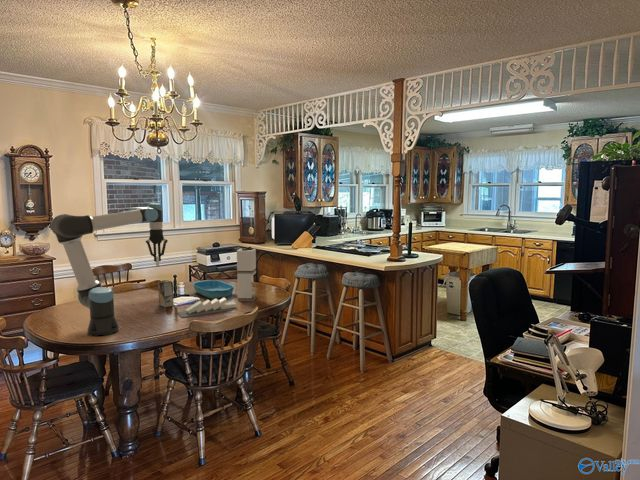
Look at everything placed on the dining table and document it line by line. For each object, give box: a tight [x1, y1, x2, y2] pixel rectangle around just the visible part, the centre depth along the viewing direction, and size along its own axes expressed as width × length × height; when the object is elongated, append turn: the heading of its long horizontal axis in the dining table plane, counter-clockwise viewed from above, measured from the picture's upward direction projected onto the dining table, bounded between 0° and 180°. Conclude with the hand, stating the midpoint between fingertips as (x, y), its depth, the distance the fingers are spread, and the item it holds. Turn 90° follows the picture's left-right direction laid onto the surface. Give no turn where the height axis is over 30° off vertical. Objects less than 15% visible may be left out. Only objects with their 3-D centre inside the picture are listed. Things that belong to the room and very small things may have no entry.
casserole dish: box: [192, 279, 235, 300], centre depth 311 cm, size 37×22×7 cm, turn 41°
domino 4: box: [212, 297, 229, 310], centre depth 271 cm, size 2×5×10 cm
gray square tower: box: [236, 247, 257, 302], centre depth 295 cm, size 11×11×35 cm
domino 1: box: [185, 300, 203, 314], centre depth 263 cm, size 2×5×10 cm
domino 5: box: [219, 301, 237, 309], centre depth 274 cm, size 2×5×10 cm
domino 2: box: [195, 299, 212, 313], centre depth 265 cm, size 2×5×10 cm
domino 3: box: [203, 298, 220, 311], centre depth 268 cm, size 2×5×10 cm
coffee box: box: [157, 279, 175, 308], centre depth 280 cm, size 9×6×16 cm
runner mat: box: [176, 308, 234, 319], centre depth 267 cm, size 32×12×1 cm, turn 121°
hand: (157, 266), depth 262 cm, fingers closed
